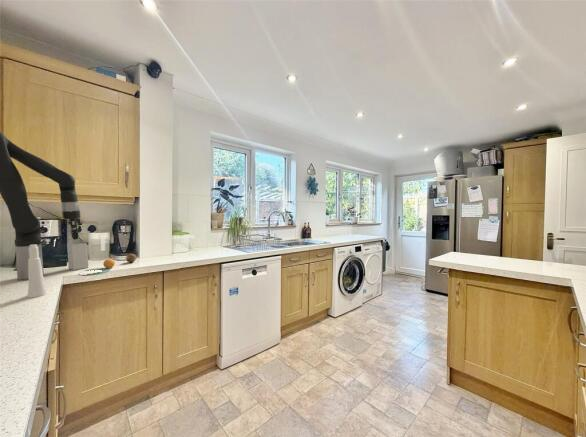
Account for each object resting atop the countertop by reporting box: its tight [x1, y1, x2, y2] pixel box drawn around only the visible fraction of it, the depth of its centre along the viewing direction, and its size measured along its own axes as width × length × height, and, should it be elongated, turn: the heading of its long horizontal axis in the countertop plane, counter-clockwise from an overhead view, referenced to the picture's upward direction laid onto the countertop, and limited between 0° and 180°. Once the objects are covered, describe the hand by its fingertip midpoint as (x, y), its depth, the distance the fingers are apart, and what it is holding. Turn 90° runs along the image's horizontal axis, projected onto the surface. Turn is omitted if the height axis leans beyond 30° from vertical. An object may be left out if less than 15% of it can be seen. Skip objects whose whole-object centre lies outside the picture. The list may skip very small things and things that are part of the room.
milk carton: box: [66, 236, 89, 271], centre depth 148 cm, size 7×7×19 cm
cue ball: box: [125, 253, 137, 263], centre depth 162 cm, size 6×6×6 cm
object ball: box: [102, 258, 116, 269], centre depth 149 cm, size 6×6×6 cm
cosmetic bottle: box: [26, 244, 48, 299], centre depth 107 cm, size 6×6×22 cm
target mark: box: [82, 267, 111, 277], centre depth 142 cm, size 14×14×1 cm
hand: (75, 238), depth 143 cm, fingers open, 8 cm apart
